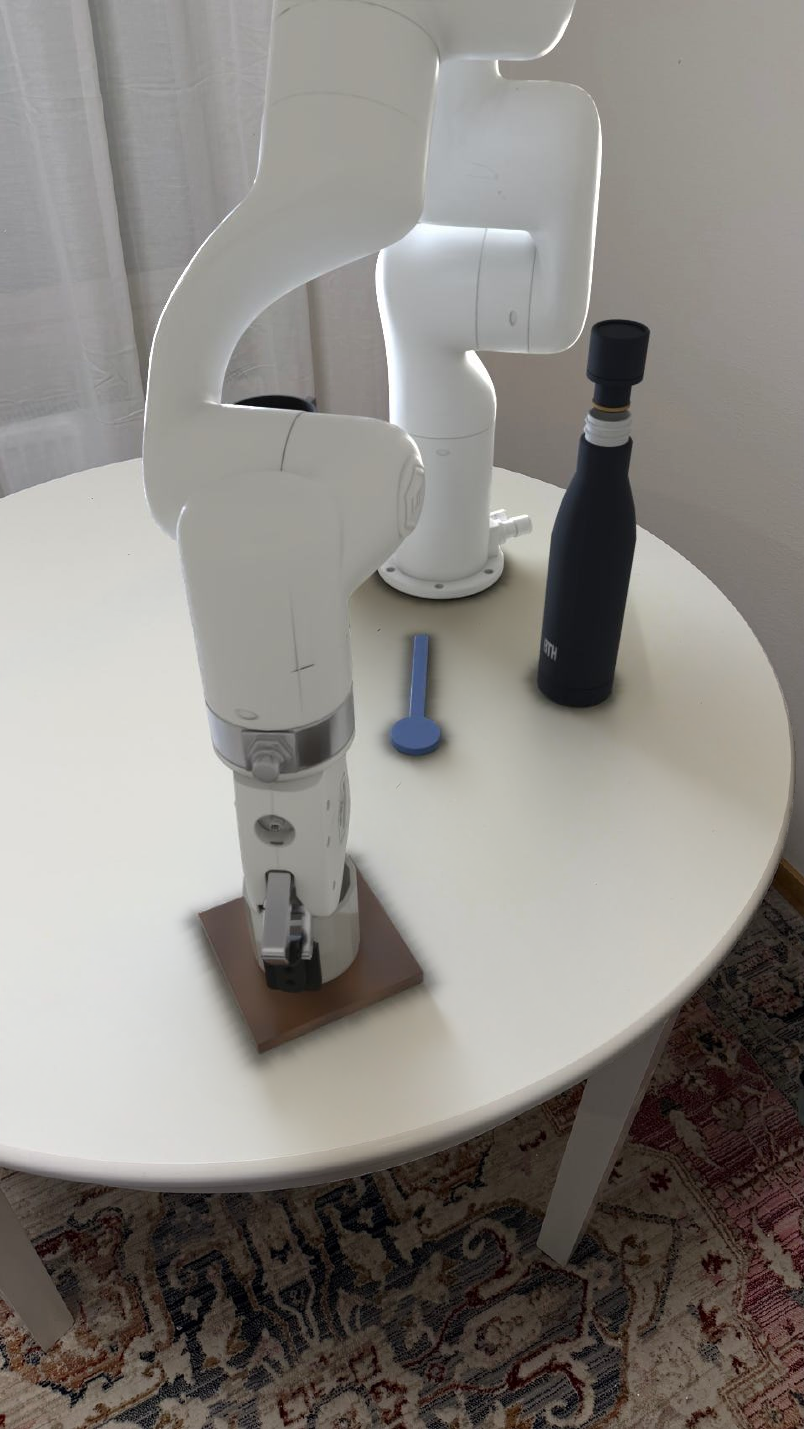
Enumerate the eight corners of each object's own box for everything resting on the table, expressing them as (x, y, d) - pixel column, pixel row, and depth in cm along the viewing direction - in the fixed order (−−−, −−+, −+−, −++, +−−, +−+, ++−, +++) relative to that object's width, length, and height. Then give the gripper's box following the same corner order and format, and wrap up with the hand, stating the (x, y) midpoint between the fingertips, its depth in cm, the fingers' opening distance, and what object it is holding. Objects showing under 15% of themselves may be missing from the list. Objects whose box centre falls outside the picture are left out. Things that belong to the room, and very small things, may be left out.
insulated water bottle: (621, 672, 87) (680, 319, 68) (600, 716, 83) (656, 352, 63) (550, 654, 89) (588, 307, 70) (526, 695, 85) (559, 337, 65)
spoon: (399, 639, 91) (399, 633, 91) (443, 640, 91) (444, 634, 90) (389, 754, 79) (389, 748, 79) (440, 756, 79) (440, 749, 79)
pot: (333, 886, 68) (328, 824, 64) (377, 960, 63) (375, 898, 59) (238, 923, 65) (227, 861, 62) (276, 1003, 61) (267, 942, 57)
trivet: (350, 863, 71) (349, 854, 70) (423, 981, 63) (423, 971, 62) (199, 921, 67) (197, 912, 66) (259, 1054, 59) (257, 1045, 59)
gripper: (337, 837, 45) (353, 1046, 56) (366, 617, 58) (375, 821, 69) (172, 832, 46) (220, 1041, 57) (238, 614, 59) (267, 818, 70)
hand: (305, 919), depth 63 cm, fingers open, 9 cm apart
